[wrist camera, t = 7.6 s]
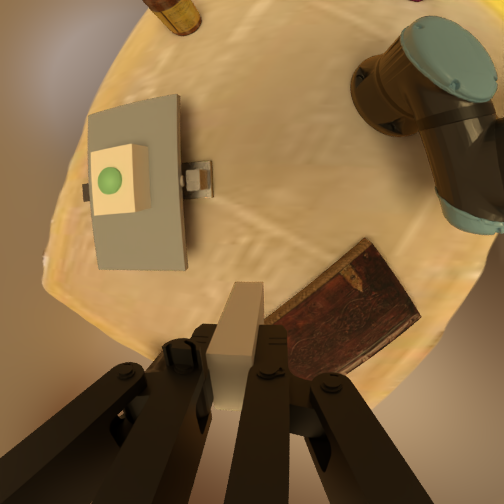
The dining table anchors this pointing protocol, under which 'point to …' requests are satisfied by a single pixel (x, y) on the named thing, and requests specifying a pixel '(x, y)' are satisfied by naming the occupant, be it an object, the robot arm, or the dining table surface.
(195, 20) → the sauce bottle
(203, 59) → the dining table surface
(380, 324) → the hardback book
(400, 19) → the dining table surface
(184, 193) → the pivot stand
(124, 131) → the instrument plate
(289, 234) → the dining table surface
